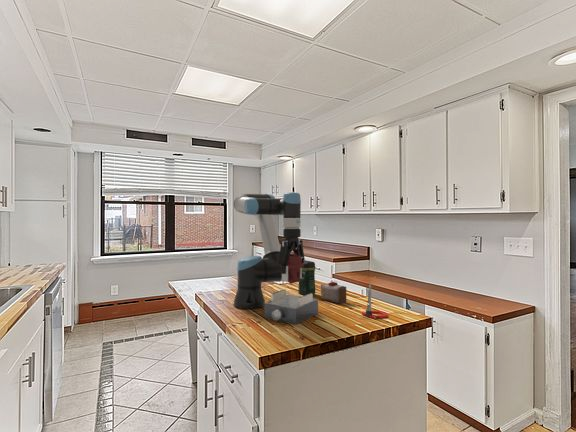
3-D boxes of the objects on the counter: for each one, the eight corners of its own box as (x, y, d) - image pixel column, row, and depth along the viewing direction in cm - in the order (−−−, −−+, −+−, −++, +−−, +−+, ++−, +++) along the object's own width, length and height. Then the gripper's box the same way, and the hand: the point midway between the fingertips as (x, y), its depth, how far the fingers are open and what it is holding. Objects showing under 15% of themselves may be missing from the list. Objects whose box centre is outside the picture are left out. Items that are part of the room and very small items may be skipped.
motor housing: (260, 319, 137) (260, 296, 137) (288, 308, 154) (288, 287, 154) (291, 326, 128) (291, 302, 128) (318, 313, 145) (318, 292, 145)
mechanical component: (305, 280, 146) (301, 284, 136) (283, 279, 148) (278, 283, 138) (305, 252, 146) (301, 255, 136) (283, 252, 148) (278, 254, 138)
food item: (318, 299, 170) (318, 280, 170) (328, 297, 176) (328, 278, 176) (339, 304, 160) (338, 284, 160) (348, 302, 166) (348, 282, 166)
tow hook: (376, 312, 149) (360, 314, 144) (377, 281, 149) (361, 283, 144) (392, 317, 141) (375, 320, 136) (393, 285, 141) (376, 286, 136)
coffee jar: (317, 294, 182) (317, 261, 182) (306, 296, 177) (306, 262, 177) (307, 291, 189) (307, 259, 190) (296, 293, 185) (296, 260, 185)
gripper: (284, 229, 131) (284, 284, 131) (312, 227, 149) (312, 276, 149) (269, 228, 135) (269, 282, 135) (298, 227, 154) (298, 274, 153)
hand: (292, 279), depth 142 cm, fingers closed on mechanical component, 10 cm apart
